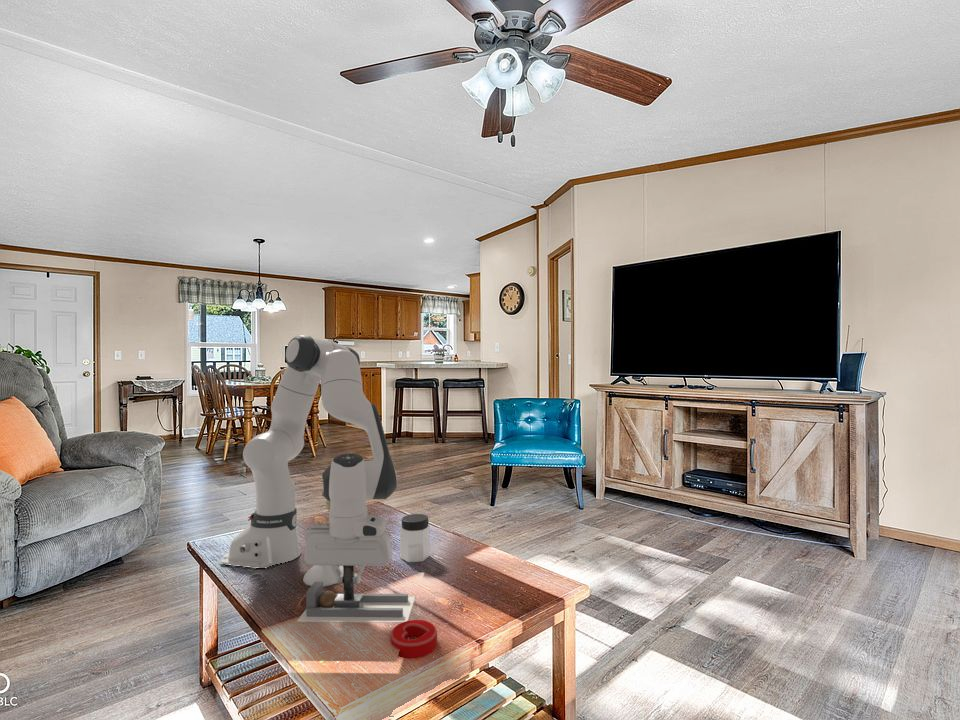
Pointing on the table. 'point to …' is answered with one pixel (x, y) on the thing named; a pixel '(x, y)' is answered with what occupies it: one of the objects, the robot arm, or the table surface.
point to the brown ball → (327, 599)
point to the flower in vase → (321, 569)
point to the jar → (415, 538)
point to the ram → (348, 592)
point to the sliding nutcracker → (371, 611)
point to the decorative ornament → (418, 646)
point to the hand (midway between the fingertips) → (348, 582)
